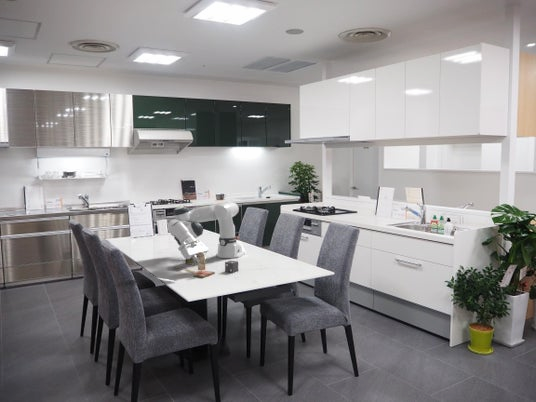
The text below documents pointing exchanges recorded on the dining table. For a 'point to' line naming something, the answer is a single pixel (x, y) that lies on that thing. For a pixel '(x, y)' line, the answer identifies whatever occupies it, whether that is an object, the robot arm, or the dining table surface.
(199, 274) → the game board
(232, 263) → the die
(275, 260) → the dining table surface
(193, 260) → the coffee box
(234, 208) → the robot arm
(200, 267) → the pawn
